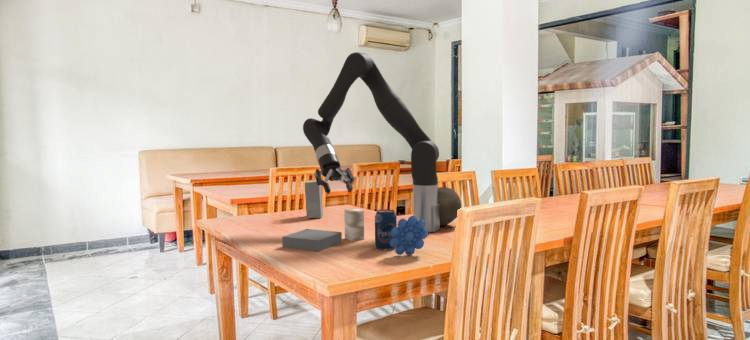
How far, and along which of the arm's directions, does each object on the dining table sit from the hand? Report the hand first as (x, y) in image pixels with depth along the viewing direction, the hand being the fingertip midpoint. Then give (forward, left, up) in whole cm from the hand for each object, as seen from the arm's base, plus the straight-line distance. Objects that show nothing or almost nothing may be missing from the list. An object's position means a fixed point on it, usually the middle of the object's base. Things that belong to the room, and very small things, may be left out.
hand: (339, 191), depth 187 cm
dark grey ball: (-30, -28, -15) cm, 44 cm away
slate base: (-2, +21, -16) cm, 26 cm away
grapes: (-36, +20, -15) cm, 44 cm away
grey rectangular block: (+28, -25, -15) cm, 41 cm away
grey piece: (-10, +7, -15) cm, 19 cm away
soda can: (-26, +15, -15) cm, 34 cm away
